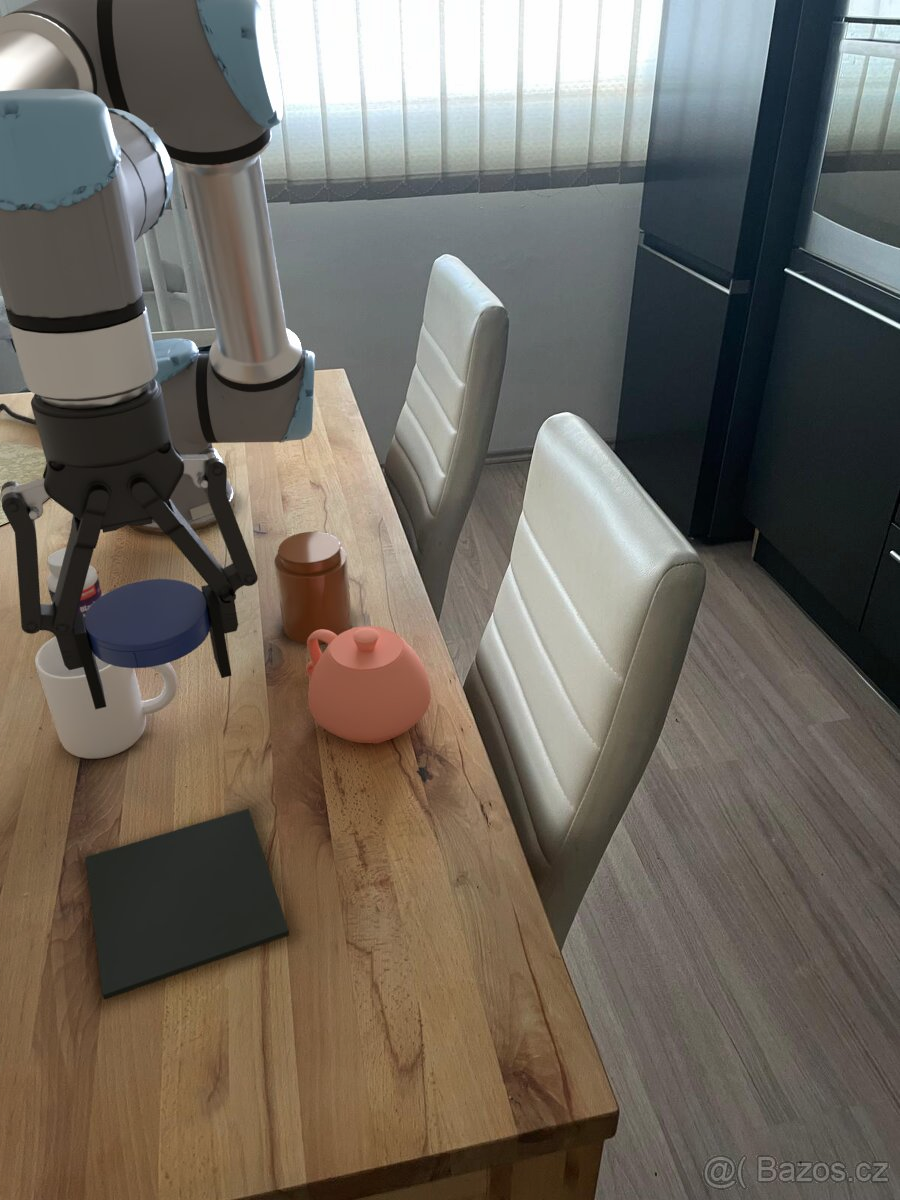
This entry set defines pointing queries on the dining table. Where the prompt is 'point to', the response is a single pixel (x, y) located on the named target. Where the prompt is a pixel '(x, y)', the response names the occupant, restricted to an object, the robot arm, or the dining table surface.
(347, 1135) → the dining table surface
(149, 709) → the mug
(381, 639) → the sugar bowl
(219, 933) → the mat
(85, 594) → the pill bottle
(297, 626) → the jar
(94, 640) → the lid
